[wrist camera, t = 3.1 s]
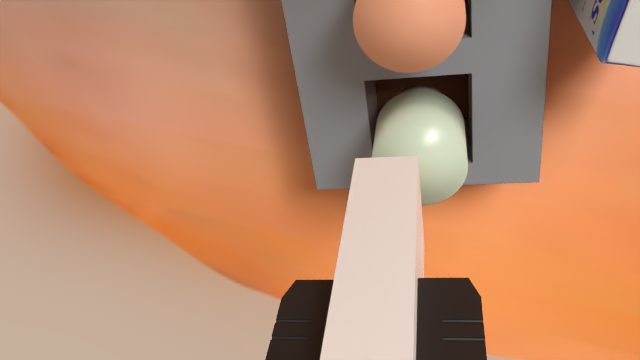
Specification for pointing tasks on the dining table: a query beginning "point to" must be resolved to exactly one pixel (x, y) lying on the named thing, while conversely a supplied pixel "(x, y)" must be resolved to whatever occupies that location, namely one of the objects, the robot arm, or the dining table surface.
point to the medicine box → (611, 29)
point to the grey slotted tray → (468, 58)
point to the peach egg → (409, 31)
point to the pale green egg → (425, 139)
